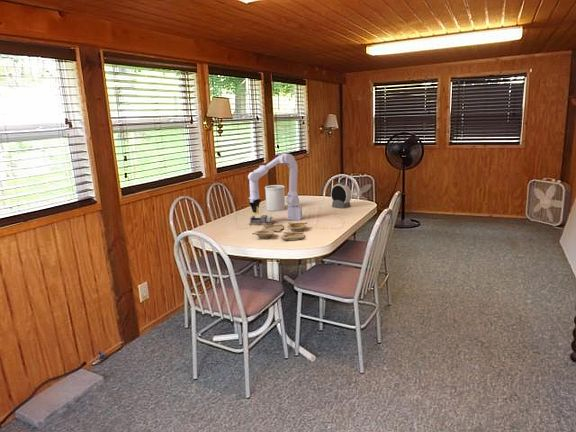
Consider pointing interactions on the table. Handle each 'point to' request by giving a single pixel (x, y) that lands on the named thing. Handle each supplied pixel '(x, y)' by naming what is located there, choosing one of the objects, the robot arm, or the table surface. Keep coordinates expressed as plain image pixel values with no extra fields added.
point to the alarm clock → (341, 195)
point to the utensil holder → (275, 197)
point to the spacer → (256, 212)
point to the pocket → (255, 220)
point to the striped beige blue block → (268, 219)
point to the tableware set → (270, 229)
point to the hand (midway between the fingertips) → (255, 211)
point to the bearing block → (263, 218)
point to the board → (263, 223)
